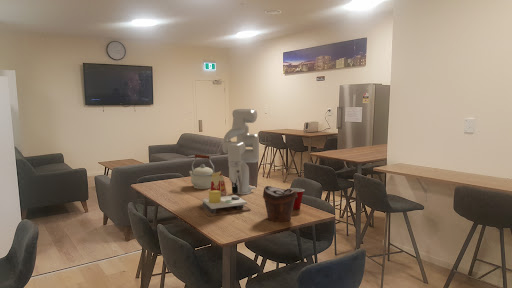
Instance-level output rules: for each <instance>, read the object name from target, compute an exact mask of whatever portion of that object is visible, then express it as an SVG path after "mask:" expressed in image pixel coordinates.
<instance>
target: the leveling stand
mask: <svg viewBox="0 0 512 288" xmlns="http://www.w3.org/2000/svg"><path fill="white" fill-rule="evenodd" d="M198 208H199V209H200V210H201V211H202V212H203V213H204V214H206V215H207V216H208V217H216V216H222V215H224V216H225V215H230V214H237V213H244V212H251V208H249V207H248V206H246V204H245V205H237V206H230V207H223V208H216V209H211V208H210V207H209V206H208V205H206V204H205V203H204V202H203V201H202V205H198Z"/></svg>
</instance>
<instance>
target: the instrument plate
mask: <svg viewBox="0 0 512 288" xmlns="http://www.w3.org/2000/svg"><path fill="white" fill-rule="evenodd" d="M201 200H202V203H203V202H204V203H205V204H206V205H208V206H209V207H210V208H211V209H216V208H223V207H230V206H237V205H245V206H246V205H247V204H248V203H247V202H248V201H246V200H244V199H243V198H241V197H239V196H238V195H237V194H232V195H227V196H222V197H221V191H218V190H213V191H211V190H210V191H208V198H202V199H201Z"/></svg>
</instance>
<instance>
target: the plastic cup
mask: <svg viewBox="0 0 512 288" xmlns="http://www.w3.org/2000/svg"><path fill="white" fill-rule="evenodd" d="M287 189H291V190H295V191H296V193H297V196H298V198H297V199H295V201H294V206H293V210H299V209H300V208H301V206H302V200H303V195H304V193H305V189H303V188H298V187H288V188H287Z"/></svg>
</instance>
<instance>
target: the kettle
mask: <svg viewBox="0 0 512 288" xmlns="http://www.w3.org/2000/svg"><path fill="white" fill-rule="evenodd" d="M197 158H199V159H206V160H207V159H208V160H209V163H210V165H211V167H212V168H210V167H207V166H206V165H205V164H204V163H202V164H200V166H199V167H196V168H194V163H195V162H196V160H197ZM188 172H189V175H190V177H191V178H190V183H191V184H192V185H193V187H194V189H198V190H205V189H211V178H212V173H215V165H214V164H213V162H212V160H211V155H206V154H194V160H193V162H192V163H191V170H189V171H188Z"/></svg>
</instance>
